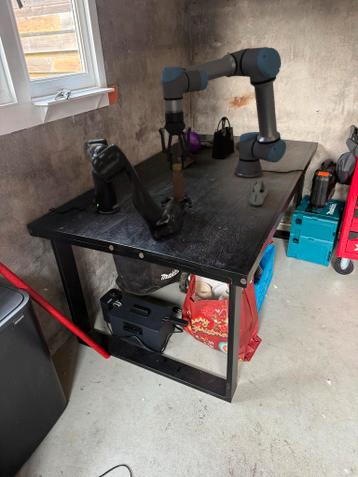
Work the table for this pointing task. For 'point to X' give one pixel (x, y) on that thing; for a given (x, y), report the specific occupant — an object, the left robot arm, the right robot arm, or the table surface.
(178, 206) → the left robot arm
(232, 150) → the handbag
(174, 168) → the cap
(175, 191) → the bottle
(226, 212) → the table surface
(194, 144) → the decorative orb
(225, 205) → the table surface
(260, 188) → the ballet flat
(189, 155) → the boot
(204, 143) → the pair of gloves
